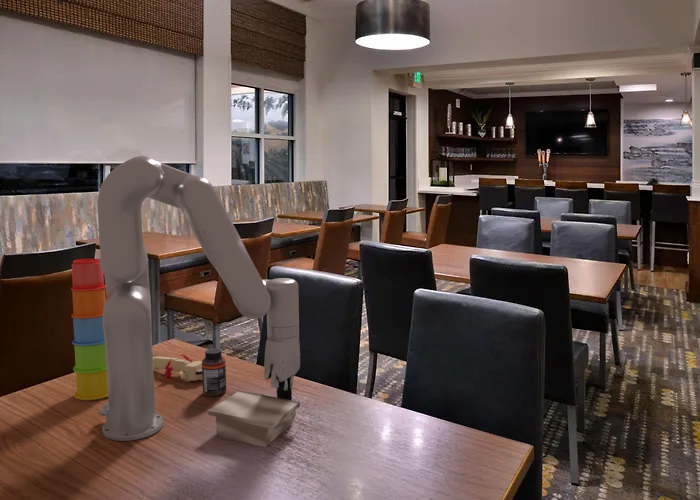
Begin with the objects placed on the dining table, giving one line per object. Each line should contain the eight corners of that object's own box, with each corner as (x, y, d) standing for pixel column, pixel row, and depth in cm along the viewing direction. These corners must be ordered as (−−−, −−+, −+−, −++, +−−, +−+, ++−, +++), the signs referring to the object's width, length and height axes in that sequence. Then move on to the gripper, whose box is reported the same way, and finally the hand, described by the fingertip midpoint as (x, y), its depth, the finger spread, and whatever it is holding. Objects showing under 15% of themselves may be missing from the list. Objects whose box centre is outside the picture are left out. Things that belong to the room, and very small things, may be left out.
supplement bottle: (208, 387, 148) (206, 346, 147) (229, 388, 148) (228, 347, 146) (199, 396, 142) (197, 353, 141) (221, 397, 142) (220, 354, 140)
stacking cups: (66, 401, 139) (57, 263, 134) (85, 385, 149) (77, 256, 144) (108, 401, 139) (100, 263, 134) (124, 386, 149) (117, 257, 144)
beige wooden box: (240, 412, 133) (239, 390, 132) (299, 425, 127) (299, 401, 126) (208, 434, 122) (208, 410, 121) (272, 449, 116) (271, 423, 115)
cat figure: (126, 378, 158) (196, 386, 148) (122, 348, 157) (192, 353, 147) (152, 367, 167) (219, 373, 157) (149, 338, 166) (216, 343, 156)
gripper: (284, 321, 141) (286, 390, 144) (252, 337, 128) (254, 413, 130) (311, 324, 138) (312, 394, 141) (281, 341, 125) (282, 419, 128)
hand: (284, 403), depth 136 cm, fingers closed
